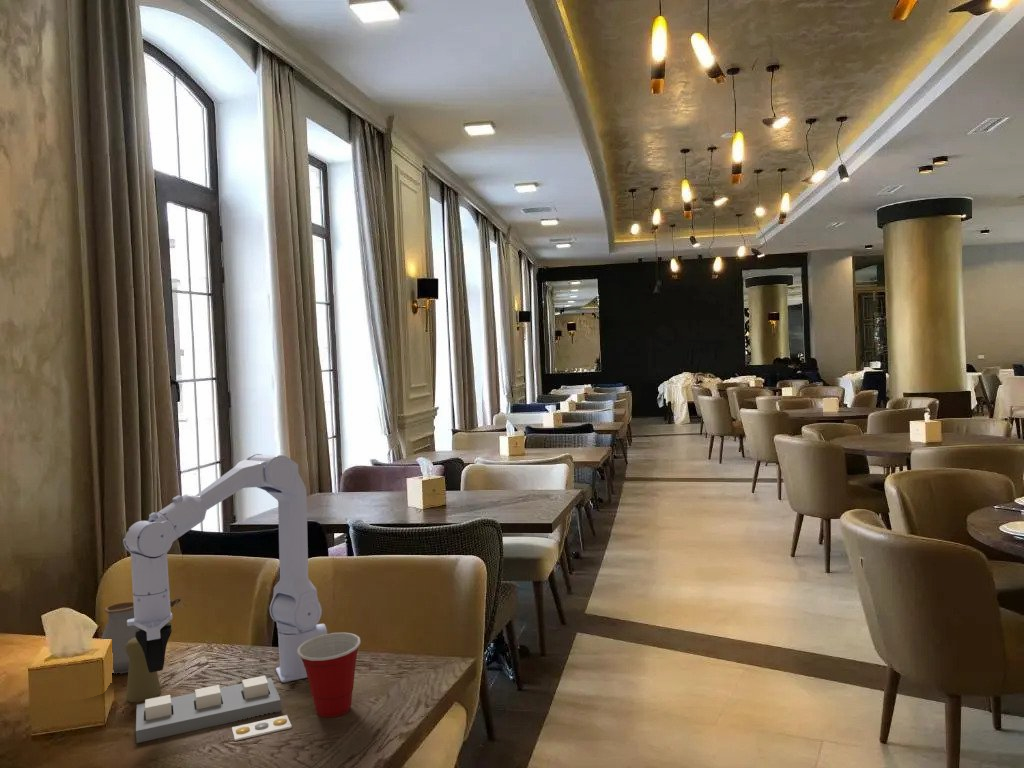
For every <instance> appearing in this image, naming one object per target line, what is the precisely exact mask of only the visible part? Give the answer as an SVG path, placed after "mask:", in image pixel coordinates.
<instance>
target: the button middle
mask: <svg viewBox="0 0 1024 768" xmlns="http://www.w3.org/2000/svg"><path fill="white" fill-rule="evenodd" d="M220 688H221V687H220V685H219V684H217V685H211V686H206V687H202V688H196V689H194V693H195V700H196V709H202V708H207V707H212V706H216V705H221V692H220Z"/></svg>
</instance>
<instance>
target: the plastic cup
mask: <svg viewBox="0 0 1024 768" xmlns="http://www.w3.org/2000/svg"><path fill="white" fill-rule="evenodd" d="M360 645H361V637H360V636H359V635H357V634H355V633H351V632H331V633H327V634H324V635H320V636H317V637H314V638H311V639H309V640H308V641H306V642H304V643H302V644H301V645H300V646H299V647H298V652H297V653H298V655H299V656H300V657H301V659H302V662H303V663H304V667H305V669H306V673H307V680H308V685H309V689H310V693H311V697H312V698H313V699H312V700H313V705H314V709H315V711H316V714H317V715H318V716H319V717H321V718H334V717H335V718H336V717H340V716H343V715H345V714H347V713H348V712H350V710H351V706H352V701H353V700H352V698H353V691H354V684H355V674H356V673H355V672H356V662H357V659H358V658H357V657H358V650H359V646H360Z"/></svg>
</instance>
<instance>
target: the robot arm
mask: <svg viewBox="0 0 1024 768" xmlns="http://www.w3.org/2000/svg"><path fill="white" fill-rule="evenodd" d="M247 488H257V489H260V490H263V491H265V492H266V493H268V494H270V495H271V497H273V498H274V499H276V500H277V503H278V504H277V505H278V554H279V556H278V557H279V561H278V562H279V581H278V582H277V583H276V584H275V586H274V587H273V595H272V599H271V602H270V605H269V614H270V617H271V619H272V620H273V621H274V622H276V629H277V638H278V639H277V640H278V658H279V659H278V660H279V667H276V668H275V671H276V673H277V676H278V678H279V680H280V682H281V683H288V682H292V681H297V680H303V679H308V677H307V673H306V669H305V667H304V663H303V662H302V659H301V657H300V656H299V655H298V653H297V652H298V647H299V646H300V645H301V644H302V643H304V642H306V641H308V640H309V639H311V638H314V637H317V636H320V635H324V634H328V630H327V626H326V624H325V623H319V622H320V619H321V617H322V613H323V611H322V610H323V609H322V605H321V604H322V603H320V601H319V598H318V590H317V588H316V586H315V585H314V584H313V583H312V581H311V580H310V578H309V547H308V545H309V543H308V542H309V541H308V539H309V538H308V501H307V500H308V499H307V497H308V496H307V493H308V492H307V487H306V485H305V483H304V481H303V479H302V477H301V476H300V473H299V464H298V463H297V462H295V461H294V460H292V459H291V458H290V457H289V456H287V455H284V454H279V455H273V454H272V455H269V454H268V455H267V454H262V453H261V454H260V453H255V454H254V453H253V454H251V455H249V456H248V457H247V458H246V459H243V460H241V461H239V462H237V463H236V465H235V466H234V467H233V468H231V469H229V470H228V471H227V472H225V473H224V474H223V475H221V476H220V477H218V478H217V479H216V480H214V482H212V483H210V484H209V485H208V486H207V487H205V488H203V489H202V490H201V491H200V492H198V493H197V494H196V495H192V494H186V493H185V494H184V495H176V496H174V497H173V498H172V502H171V503H169V504H168V505H167V506H165V507H163V508H162V509H161V510H159V511H157V512H151V513H149V515H148V517H149V518H148V520H139V521H136V522H134V523H133V524H132V525H130V527H129V528H128V531H126V533H125V537H124V538H123V540H122V543H123V546H124V548H125V549H126V551H127V552H128V553H130V564H131V565H130V567H131V571H130V572H131V585H132V586H131V587H132V599H133V601H132V602H133V603H134V618H133V619H128V620H127V626H132V625H134V626H136V627H138V628H139V629H137V630H136V634H135V636H136V639H137V641H138V642H139V644H140V645H141V647H142V649H143V652H144V655H145V659H146V663H147V667H148V670H149V672H150V673H151V672H156V671H157V672H160V671H163V670H164V666H165V657H166V649H167V645H168V642H169V639H170V636H171V635H172V632H173V631H172V623H171V620H172V619H173V613H172V612H171V610H172V609H171V608H172V607H170V601H171V596H170V595H171V594H170V580H169V562H168V552H169V551H170V550H171V547H172V545H173V542H174V541H176V540H177V539H179V538H181V537H182V536H183V535H185V534H186V533H187V532H189V531H191V530H192V529H193V528H195V527H197V525H199V524H200V523H202V522H203V521H204V520H205V518H206V513H207V511H209V510H210V509H211V508H213V507H214V506H216V505H218V504H219V503H221V502H222V501H224V500H226V499H228V498H230V497H231V496H232V495H234V494H236V493H238V492H239V491H241V490H243V489H247Z"/></svg>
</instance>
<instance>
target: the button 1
mask: <svg viewBox="0 0 1024 768" xmlns="http://www.w3.org/2000/svg"><path fill="white" fill-rule="evenodd" d="M171 698H172V697H171V694H167V695H162V696H157V697H155V698H151V699H146V700H145V701H144V703H145V712H146V720H150V719H155V718H160V717H164V716H169V715H172V711H171Z"/></svg>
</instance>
